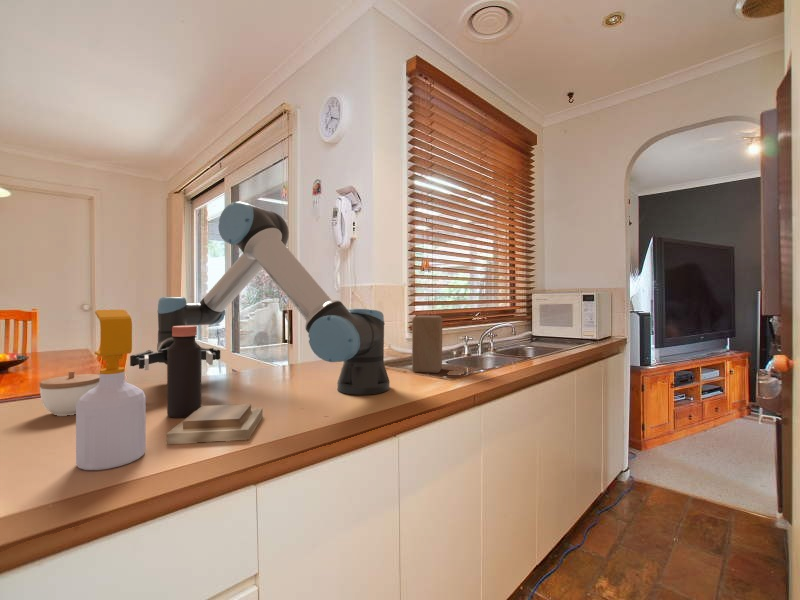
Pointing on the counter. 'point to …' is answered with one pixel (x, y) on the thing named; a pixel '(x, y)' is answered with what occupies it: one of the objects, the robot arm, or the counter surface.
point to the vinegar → (183, 373)
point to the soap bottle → (111, 404)
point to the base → (215, 432)
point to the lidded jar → (66, 392)
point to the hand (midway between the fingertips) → (180, 361)
